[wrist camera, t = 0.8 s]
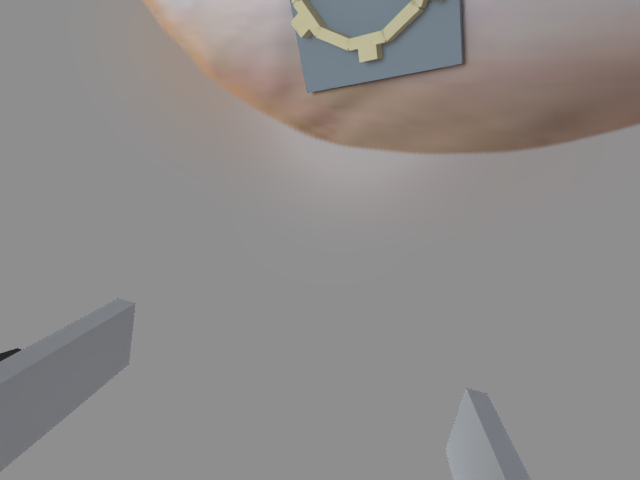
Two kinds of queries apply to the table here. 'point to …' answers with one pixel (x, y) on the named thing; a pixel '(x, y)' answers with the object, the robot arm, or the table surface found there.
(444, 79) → the table surface
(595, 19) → the table surface
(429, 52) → the gear board
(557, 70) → the table surface
